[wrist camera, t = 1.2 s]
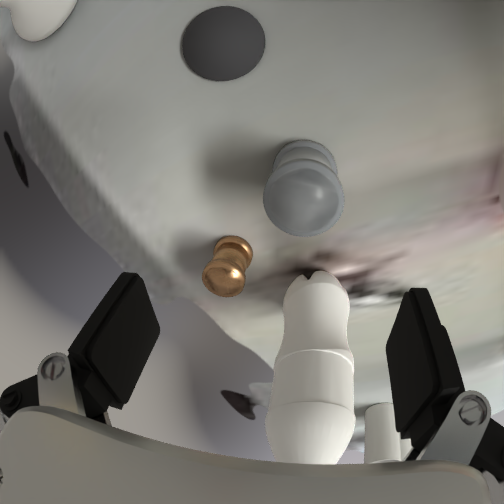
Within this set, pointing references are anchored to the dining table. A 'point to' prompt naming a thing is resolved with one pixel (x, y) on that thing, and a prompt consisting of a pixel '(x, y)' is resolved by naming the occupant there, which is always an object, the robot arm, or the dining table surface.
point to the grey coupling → (304, 190)
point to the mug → (381, 435)
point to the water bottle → (312, 375)
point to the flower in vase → (38, 16)
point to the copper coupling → (228, 266)
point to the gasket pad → (223, 43)
